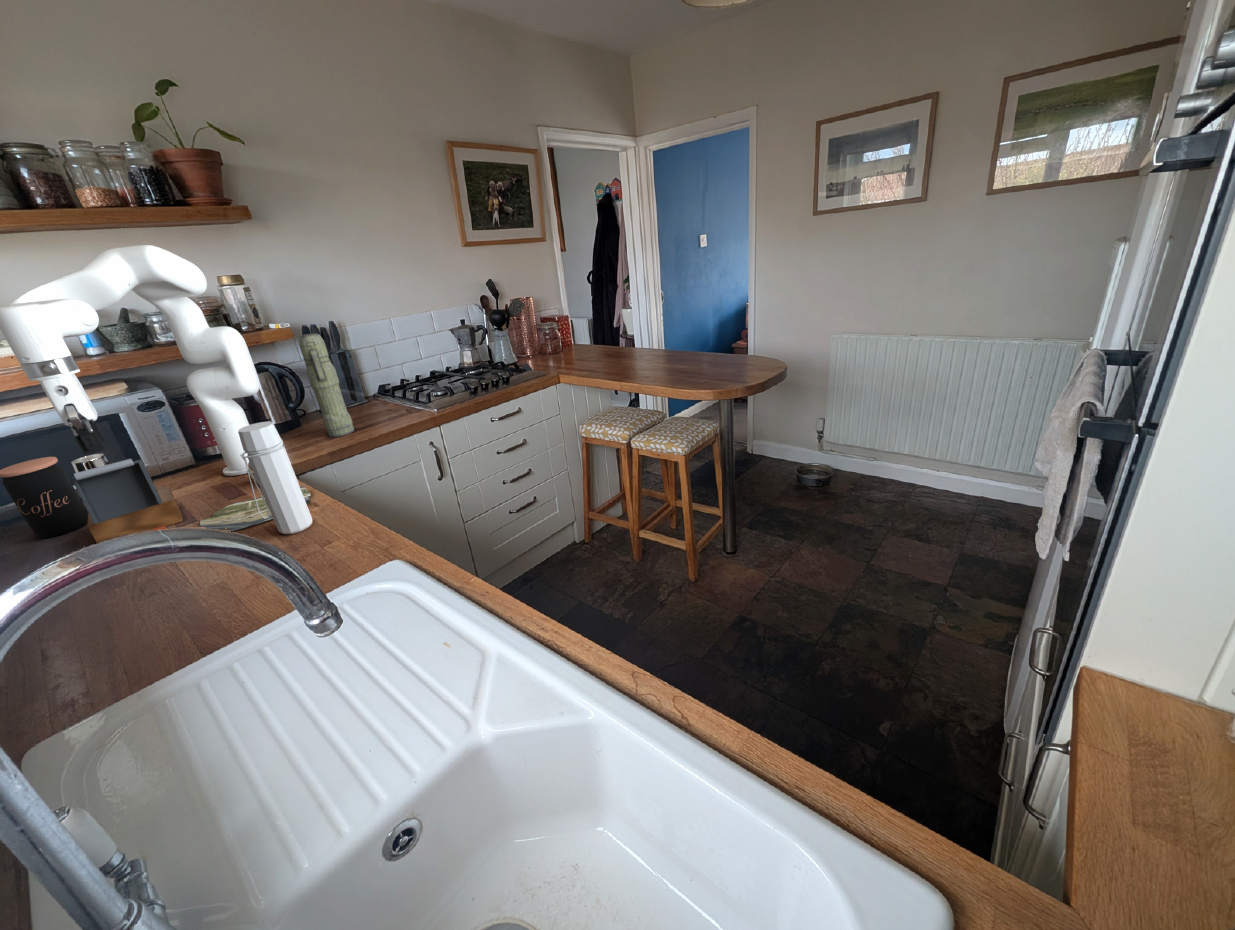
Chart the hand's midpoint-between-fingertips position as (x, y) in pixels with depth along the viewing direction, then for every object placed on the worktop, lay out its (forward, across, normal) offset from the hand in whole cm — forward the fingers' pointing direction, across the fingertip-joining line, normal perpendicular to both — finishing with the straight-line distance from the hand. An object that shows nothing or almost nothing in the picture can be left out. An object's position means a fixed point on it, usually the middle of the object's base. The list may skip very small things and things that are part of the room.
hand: (95, 447), depth 112 cm
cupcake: (+25, +17, -29) cm, 42 cm away
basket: (+13, +10, 0) cm, 17 cm away
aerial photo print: (+25, -5, -22) cm, 33 cm away
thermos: (+26, +47, -58) cm, 78 cm away
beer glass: (+25, +38, +6) cm, 46 cm away
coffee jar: (+25, +33, +16) cm, 44 cm away
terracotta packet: (+23, +2, -2) cm, 23 cm away
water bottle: (+25, -23, -25) cm, 42 cm away
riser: (+25, +15, +1) cm, 29 cm away
